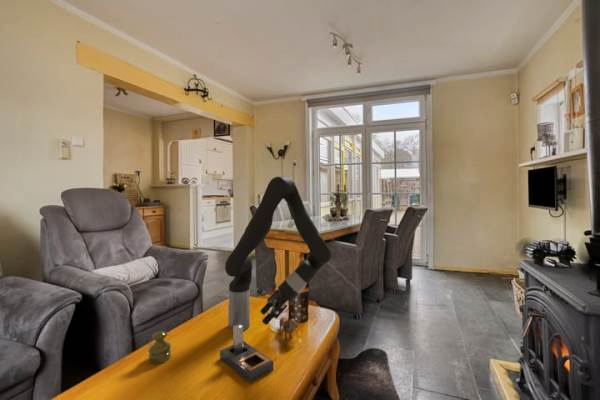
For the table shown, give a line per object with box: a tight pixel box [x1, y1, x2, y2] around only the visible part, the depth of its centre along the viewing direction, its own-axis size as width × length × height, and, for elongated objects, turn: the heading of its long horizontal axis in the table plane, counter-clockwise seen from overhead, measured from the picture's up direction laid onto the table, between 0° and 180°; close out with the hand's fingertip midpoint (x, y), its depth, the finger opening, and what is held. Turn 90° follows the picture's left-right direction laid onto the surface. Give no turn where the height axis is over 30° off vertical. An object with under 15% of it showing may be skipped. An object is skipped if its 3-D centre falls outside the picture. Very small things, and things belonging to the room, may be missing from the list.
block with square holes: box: [219, 340, 274, 384], centre depth 103 cm, size 19×10×3 cm, turn 45°
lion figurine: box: [278, 316, 300, 341], centre depth 123 cm, size 15×5×9 cm, turn 34°
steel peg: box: [232, 324, 244, 356], centre depth 106 cm, size 4×4×12 cm
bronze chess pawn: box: [148, 330, 172, 365], centre depth 105 cm, size 7×7×10 cm
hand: (262, 317), depth 108 cm, fingers open, 8 cm apart
